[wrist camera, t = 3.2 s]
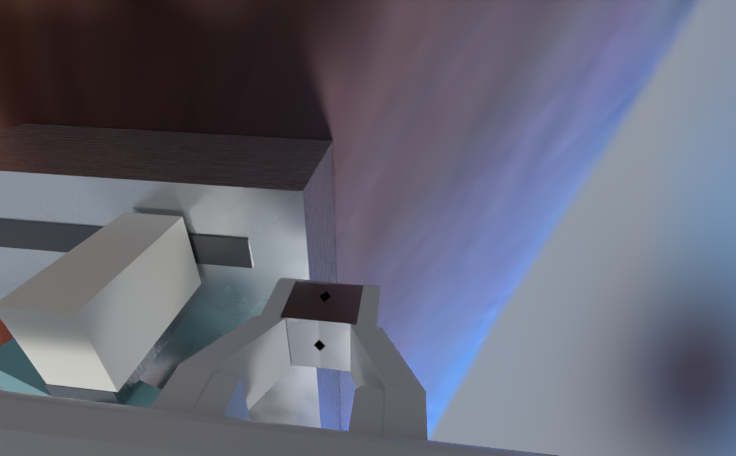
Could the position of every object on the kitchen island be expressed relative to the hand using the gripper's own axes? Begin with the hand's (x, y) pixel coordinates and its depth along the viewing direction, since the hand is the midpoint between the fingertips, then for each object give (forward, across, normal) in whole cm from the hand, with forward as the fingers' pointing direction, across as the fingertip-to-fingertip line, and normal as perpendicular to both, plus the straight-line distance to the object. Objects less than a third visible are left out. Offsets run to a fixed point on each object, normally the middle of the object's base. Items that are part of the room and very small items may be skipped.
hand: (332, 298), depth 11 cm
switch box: (+7, +8, +8) cm, 14 cm away
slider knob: (+2, +6, 0) cm, 6 cm away
